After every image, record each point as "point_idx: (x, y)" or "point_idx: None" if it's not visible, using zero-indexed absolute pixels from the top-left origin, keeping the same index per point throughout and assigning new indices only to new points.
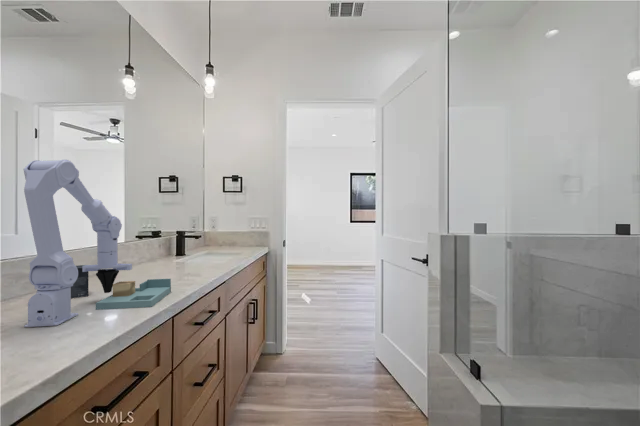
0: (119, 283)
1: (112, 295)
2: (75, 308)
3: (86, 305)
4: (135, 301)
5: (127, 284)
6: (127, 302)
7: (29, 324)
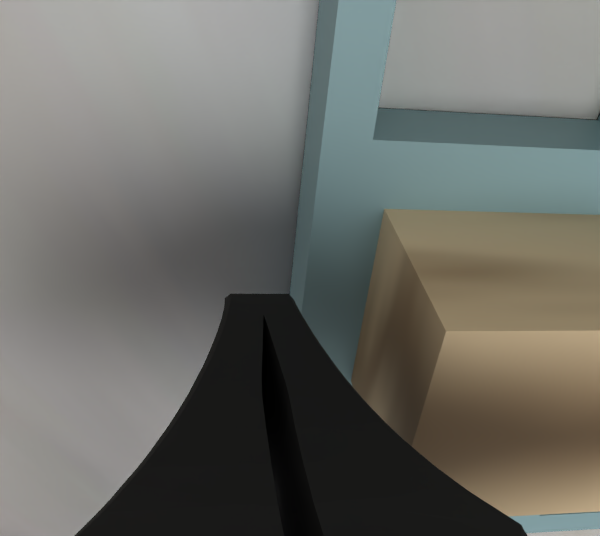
0: (476, 475)
1: (324, 323)
2: (46, 448)
3: (87, 375)
4: (590, 527)
5: (590, 503)
6: (527, 524)
7: None
